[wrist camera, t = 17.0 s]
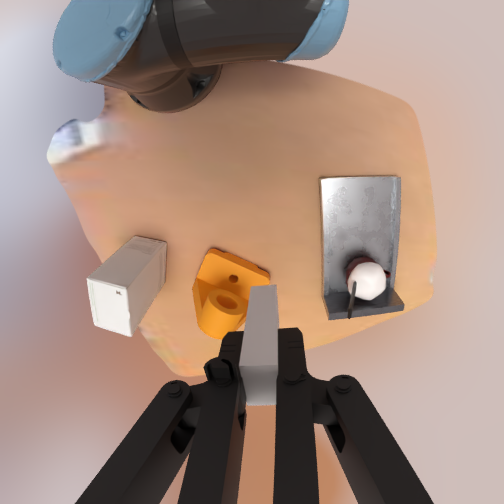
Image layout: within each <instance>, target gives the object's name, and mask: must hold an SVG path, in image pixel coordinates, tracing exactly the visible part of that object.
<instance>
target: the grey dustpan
mask: <svg viewBox="0 0 504 504" xmlns="http://www.w3.org/2000/svg"><path fill="white" fill-rule="evenodd" d="M319 188H320V207H321V235H322V299H323V302H324V306H325V309H326V313H327V316H328V320H336V319H345V318H347V316H348V308H349V303H350V298H351V294H350V292H349V289H348V287H347V284H346V270H347V268H348V266H349V264H350V263H351V262H352V261H353V260H354V259H357V258H360V257H368V258H371V259H373V260H374V261H376V262H377V263H379V264H380V265H381V267H382V269H383V270H387V271H389V272H390V273H391V276H390V277H389V278H386V288H385V290H384V291H383V292H382V293H381V294H380V295H378V296H377V297H375V298H374V299H372V300H365V299H361V298H359V297H356V296H355V300H354V305H353V311H352V316H351V318H354V317H362V316H369V315H377V314H384V313H391V312H397V311H403V309H404V303H403V301H402V300H401V299H400V297H399V296H398V294H397V293H396V292H395V290H394V282H395V274H396V265H397V256H398V244H399V230H400V209H401V177H397V176H351V177H325V178H319Z"/></svg>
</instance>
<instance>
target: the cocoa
mask: <svg viewBox="0 0 504 504" xmlns="http://www.w3.org/2000/svg"><path fill="white" fill-rule="evenodd" d="M390 276H391V273H390V272H389V271H387V270H383V269H382V267H381V265H380V264H379V263H377V262H376V261H374V260H373V259H371V258H368V257H360V258H357V259H354V260H353V261H352V262H351V263H350V264H349V266H348V268H347V270H346V284H347V287H348V289H349V292H350V294H351V298H350V303H349V308H348V316H347V318H348V319H350V318H351V316H352V311H353V305H354V300H355V296H356V297H359V298H361V299H365V300H372V299H374V298H375V297H377V296H378V295H380V294H381V293H382V292H383V291H384V290H385V288H386V278H389V277H390Z"/></svg>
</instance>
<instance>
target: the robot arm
mask: <svg viewBox="0 0 504 504" xmlns="http://www.w3.org/2000/svg"><path fill="white" fill-rule="evenodd" d="M348 6H349V0H71V2H70V4H69V5H68V7H67V8H66V9H65V11H64V12H63V14H62V16H61V18H60V20H59V22H58V25H57V28H56V31H55V34H54V39H53V55H54V59H55V62H56V64H57V66H58V67H59V68H60V69H61V70H62V71H63V72H64V73H65V74H67V75H70V76H72V77H75V78H77V79H79V80H80V81H84V82H94V83H98V84H102V85H106V86H110V87H114V88H118V89H121V90H125V91H127V93H128V94H129V95H130V97H131V98H132V99H133V100H134V101H135V102H136V103H137V104H138V105H140V106H141V107H143V108H145V109H148V110H151V111H155V112H160V113H173V112H179V111H182V110H185V109H188V108H190V107H192V106H194V105H195V104H197V103H198V102H200V101H201V100H202V99H204V98H205V97H206V96H207V95H208V94H209V93H210V91H211V90H212V89H213V87H214V86H215V84H216V82H217V80H218V78H219V76H220V72H221V68H222V64H226V63H235V62H247V61H264V60H276V61H277V62H286V61H290V60H314V59H318V58H320V57H322V56H324V55H326V54H328V53H329V52H330V51H331V50H332V49H333V47H334V46H335V45H336V43H337V41H338V39H339V38H340V35H341V32H342V30H343V28H344V24H345V21H346V17H347V12H348ZM204 370H205V373H206V377H207V380H208V381H206V382H204V383H201V384H197V385H192V386H189V385H188V384H187V383H186V382H183V381H180V380H175V381H170V382H168V383H166V384H165V385H164V386H163V387H162V388H161V390H160V391H159V392H158V394H157V395H156V396H155V398H154V399H153V400H152V402H151V403H150V404H149V406H148V407H147V408H146V410H145V411H144V413H143V414H142V415H141V416H140V418H139V419H138V420H137V422H136V423H135V425H134V426H133V427H132V429H131V430H130V431H129V433H128V434H127V435H126V437H125V438H124V439H123V441H122V442H121V443H120V445H119V446H118V447H117V449H116V450H115V451H114V453H113V454H112V455H111V457H110V458H109V459H108V461H107V462H106V463H105V465H104V466H103V467H102V469H101V470H100V471H99V473H98V474H97V475H96V477H95V478H94V479H93V480H92V482H91V483H90V485H89V486H88V487H87V489H86V490H85V491H84V492H83V494H82V495H81V496H80V498H79V499H78V500H77V502H76V503H75V504H159V503H160V502H161V500H162V498H163V497H164V495H165V493H166V491H167V490H168V488H169V486H170V485H171V483H172V482H173V480H174V478H175V476H176V474H177V473H178V471H179V470H180V468H181V466H182V464H183V462H184V461H185V459H186V457H187V456H188V454H189V452H190V454H189V458H188V462H187V466H186V470H185V474H184V478H183V483H182V487H181V491H180V495H179V499H178V504H237V498H238V490H239V481H240V472H241V461H242V454H243V444H244V435H245V426H246V409H245V406H246V402H247V405H276V434H275V469H274V493H273V504H319V489H318V472H317V459H316V445H315V433H314V423H317V424H323V426H324V428H325V431H326V433H327V435H328V438H329V440H330V442H331V444H332V446H333V448H334V451H335V453H336V455H337V457H338V460H339V462H340V464H341V466H342V469H343V471H344V473H345V475H346V477H347V480H348V482H349V484H350V486H351V488H352V491H353V493H354V495H355V497H356V500H357V502H358V504H434V503H433V502H432V500H431V498H430V496H429V495H428V493H427V491H426V490H425V488H424V486H423V485H422V483H421V481H420V480H419V478H418V476H417V475H416V473H415V471H414V470H413V468H412V466H411V465H410V463H409V461H408V460H407V458H406V457H405V455H404V454H403V452H402V450H401V448H400V447H399V445H398V444H397V442H396V440H395V439H394V437H393V435H392V434H391V432H390V431H389V429H388V427H387V426H386V424H385V423H384V421H383V419H382V418H381V416H380V415H379V413H378V412H377V410H376V408H375V407H374V405H373V404H372V402H371V401H370V399H369V397H368V396H367V394H366V393H365V391H364V390H363V388H362V387H361V385H360V383H359V382H358V381H357V380H356V379H355V378H354V377H352V376H349V375H338V376H335V377H333V378H332V379H331V380H330V381H324V380H319V379H316V378H314V377H312V376H311V375H310V374H309V373H308V371H307V367H306V359H305V351H304V343H303V335H302V332H301V331H300V330H299V329H298V328H283V329H279V313H278V300H277V287H276V285H264V286H251V289H250V296H249V302H248V309H247V316H246V322H245V329H244V331H232V332H228V333H227V334H226V335H225V336H224V337H223V340H222V344H221V348H220V352H219V356H218V357H216V358H213V359H211V360H209V361H208V362H207V363H206V364H205V366H204Z"/></svg>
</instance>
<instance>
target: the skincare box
mask: <svg viewBox="0 0 504 504" xmlns="http://www.w3.org/2000/svg"><path fill="white" fill-rule="evenodd" d="M166 251H167V242H163V241H158V240H153V239H148V238H143V237H138V236H134V237H133V238H131V239H130V240H129V241H128V242H127V243H126V244H124V245H123V246H122V247H121V248H120V249H119V250H117V251H116V252H115V253H114V254H113V255H112V256H111V257H110V258H108V259H107V260H106V261H105V262H104V263H103V264H102V265H101V266H99V268H97V269H96V270H95V271H94V272H93V273H92V274H91V275H90V276H89V277H88V278H87V285H88V292H89V298H90V304H91V310H92V315H93V321H94V325H95V326H98V327H101V328H104V329H107V330H110V331H114V332H117V333H120V334H123V335H126V336H129V337H132V335H133V334H134V332H135V330H136V329H137V327H138V325H139V324H140V322H141V320H142V319H143V317H144V315H145V314H146V312H147V310H148V309H149V307H150V305H151V304H152V302H153V301H154V299H155V297H156V296H157V294H158V293H159V291H160V289H161V288H162V286H163V285H164V283H165V273H166Z"/></svg>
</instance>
